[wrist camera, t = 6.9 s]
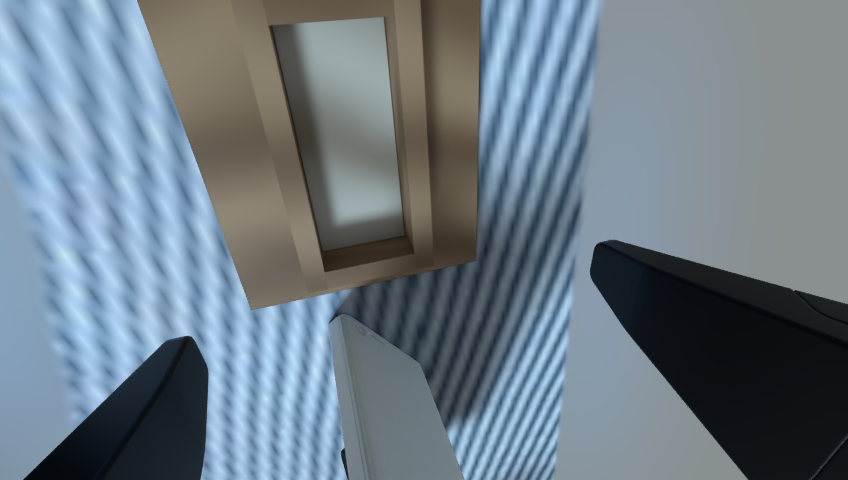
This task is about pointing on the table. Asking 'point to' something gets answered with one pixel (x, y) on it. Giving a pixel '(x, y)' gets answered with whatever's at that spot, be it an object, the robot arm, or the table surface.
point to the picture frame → (329, 134)
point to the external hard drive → (386, 409)
